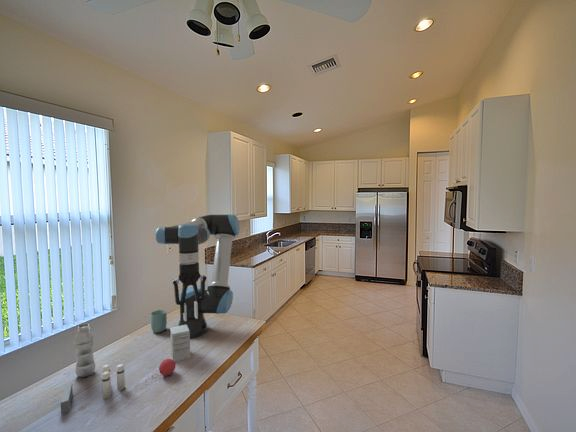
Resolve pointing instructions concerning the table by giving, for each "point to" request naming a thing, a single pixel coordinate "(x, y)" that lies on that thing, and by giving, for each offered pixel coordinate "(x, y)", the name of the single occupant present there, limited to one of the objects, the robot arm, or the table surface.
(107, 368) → the pin
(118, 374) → the front pin
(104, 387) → the pin
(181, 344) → the supplement box
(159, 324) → the cup
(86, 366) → the plastic bottle
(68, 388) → the back wall
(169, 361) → the ball
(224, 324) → the table surface
